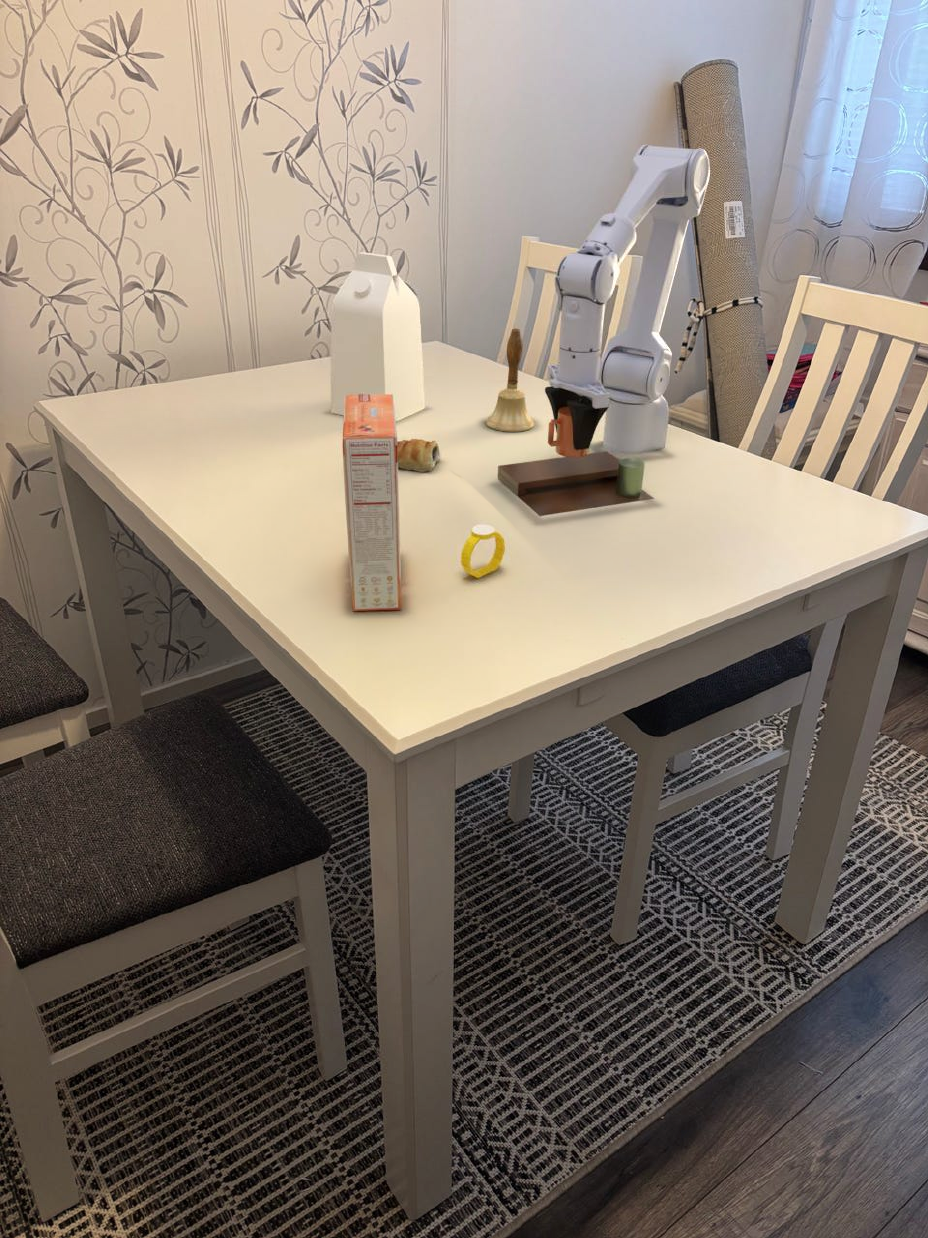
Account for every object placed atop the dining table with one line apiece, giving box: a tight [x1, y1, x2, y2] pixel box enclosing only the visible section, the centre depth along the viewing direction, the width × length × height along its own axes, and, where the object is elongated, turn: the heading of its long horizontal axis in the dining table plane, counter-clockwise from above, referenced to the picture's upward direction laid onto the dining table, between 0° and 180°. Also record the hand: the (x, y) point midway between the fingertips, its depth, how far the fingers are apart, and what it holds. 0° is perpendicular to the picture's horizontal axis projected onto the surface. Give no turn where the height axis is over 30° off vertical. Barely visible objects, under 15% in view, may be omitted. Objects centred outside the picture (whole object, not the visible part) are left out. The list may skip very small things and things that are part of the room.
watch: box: [460, 524, 506, 579], centre depth 116 cm, size 6×3×6 cm, turn 132°
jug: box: [547, 406, 590, 457], centre depth 138 cm, size 7×5×6 cm
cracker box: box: [342, 394, 403, 612], centre depth 110 cm, size 14×6×21 cm, turn 5°
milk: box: [330, 251, 426, 423], centre depth 164 cm, size 12×12×26 cm
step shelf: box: [497, 451, 655, 517], centre depth 139 cm, size 18×14×3 cm
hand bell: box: [485, 328, 535, 433], centre depth 161 cm, size 8×8×16 cm
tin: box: [616, 457, 646, 497], centre depth 137 cm, size 4×4×4 cm
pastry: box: [397, 438, 441, 473], centre depth 148 cm, size 9×7×4 cm
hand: (572, 442), depth 139 cm, fingers closed on jug, 5 cm apart
